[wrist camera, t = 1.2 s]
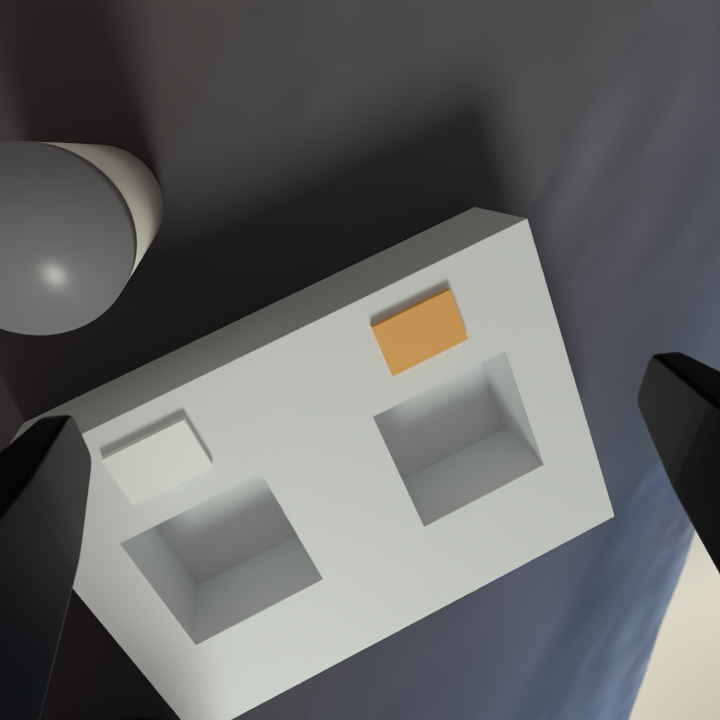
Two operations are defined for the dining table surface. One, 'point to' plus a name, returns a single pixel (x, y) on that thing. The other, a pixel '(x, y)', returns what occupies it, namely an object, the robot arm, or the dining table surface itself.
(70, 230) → the plug
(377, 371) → the port box
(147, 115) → the dining table surface
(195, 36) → the dining table surface
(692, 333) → the dining table surface
